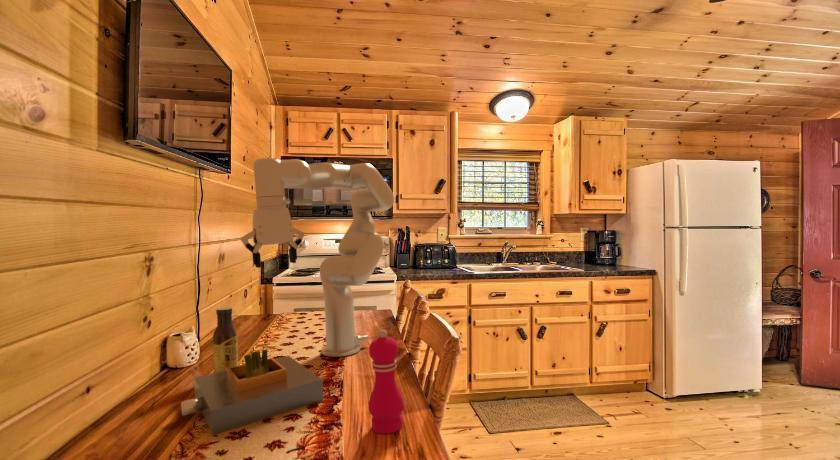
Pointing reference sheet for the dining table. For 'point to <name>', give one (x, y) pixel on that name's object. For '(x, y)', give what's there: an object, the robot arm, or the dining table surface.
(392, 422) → the pepper mill
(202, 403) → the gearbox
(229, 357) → the sauce bottle
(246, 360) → the fennel bulb
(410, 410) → the dining table surface
